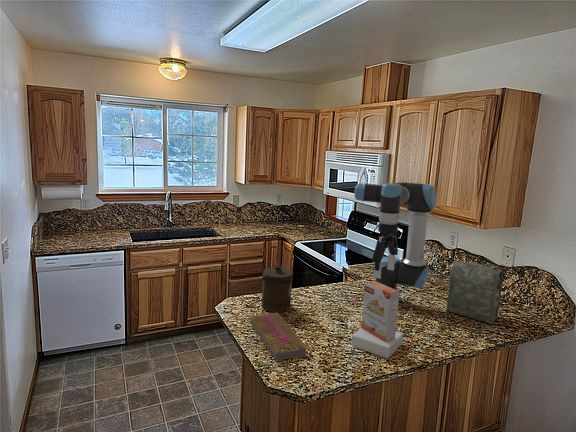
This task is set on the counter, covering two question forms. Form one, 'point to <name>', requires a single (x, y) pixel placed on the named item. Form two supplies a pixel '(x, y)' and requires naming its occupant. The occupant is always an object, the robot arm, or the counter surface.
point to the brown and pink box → (278, 336)
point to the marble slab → (376, 343)
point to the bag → (475, 291)
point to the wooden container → (276, 289)
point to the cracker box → (380, 310)
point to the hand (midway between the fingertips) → (383, 273)
